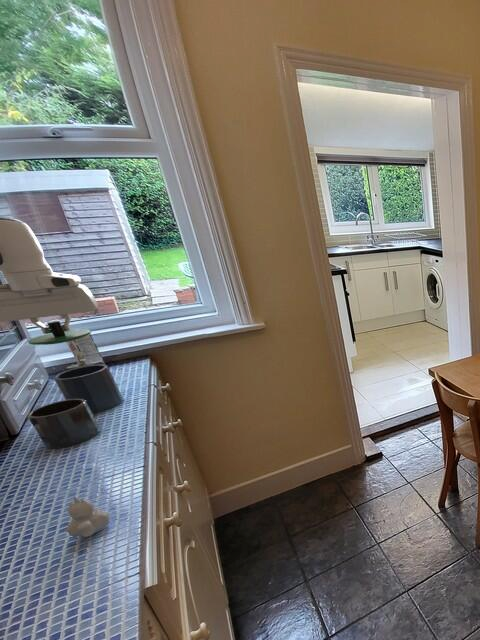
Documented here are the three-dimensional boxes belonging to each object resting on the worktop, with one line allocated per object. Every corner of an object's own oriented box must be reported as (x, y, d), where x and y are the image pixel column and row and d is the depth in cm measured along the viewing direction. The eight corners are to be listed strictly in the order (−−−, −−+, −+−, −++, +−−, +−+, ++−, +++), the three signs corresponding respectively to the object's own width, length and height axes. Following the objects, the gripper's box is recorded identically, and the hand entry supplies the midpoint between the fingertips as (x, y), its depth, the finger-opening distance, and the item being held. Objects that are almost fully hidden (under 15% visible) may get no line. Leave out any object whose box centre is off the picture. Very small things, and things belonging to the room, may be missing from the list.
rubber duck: (115, 516, 79) (96, 482, 76) (112, 535, 74) (91, 500, 71) (76, 529, 76) (55, 495, 73) (70, 551, 71) (47, 515, 68)
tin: (68, 419, 118) (48, 382, 114) (79, 404, 127) (60, 370, 122) (119, 407, 124) (102, 372, 119) (126, 394, 133) (110, 361, 128)
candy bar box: (82, 375, 151) (60, 332, 144) (100, 370, 155) (79, 328, 148) (93, 380, 145) (71, 336, 139) (111, 375, 149) (90, 332, 142)
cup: (39, 453, 101) (20, 422, 98) (53, 435, 109) (35, 406, 106) (95, 440, 106) (78, 409, 103) (104, 424, 114) (89, 395, 111)
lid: (22, 350, 108) (12, 330, 106) (39, 338, 117) (29, 321, 115) (85, 340, 114) (77, 322, 112) (96, 330, 123) (88, 313, 121)
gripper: (-31, 288, 102) (-1, 341, 107) (80, 278, 112) (103, 327, 117) (-19, 285, 106) (9, 336, 112) (86, 275, 116) (108, 323, 122)
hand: (58, 331), depth 115 cm, fingers closed on lid, 2 cm apart
